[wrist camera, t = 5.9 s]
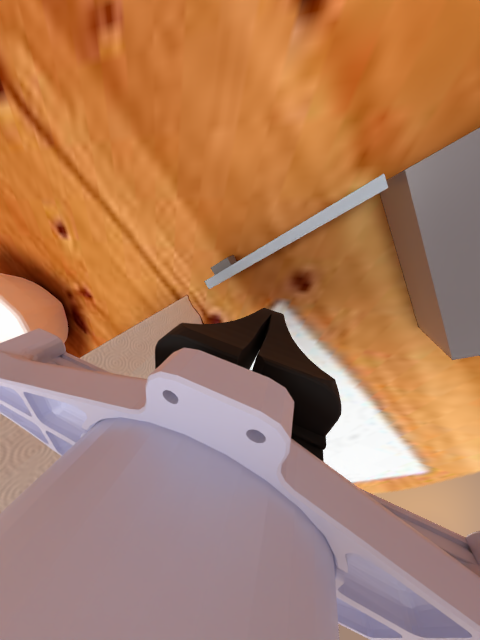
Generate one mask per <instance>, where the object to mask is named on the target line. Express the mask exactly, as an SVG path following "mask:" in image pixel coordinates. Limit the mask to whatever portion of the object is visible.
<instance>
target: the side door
mask: <svg viewBox="0 0 480 640" xmlns="http://www.w3.org/2000/svg"><path fill="white" fill-rule="evenodd" d="M387 188H388V185H387V182H386V178H385V175H384V174H382V175H381V176H379V177H377V178H376V179H374V180H372V181H371V182H369V183H367V184H366V185H364V186H362V187H361V188H359V189H357V190H356V191H354V192H352V193H351V194H349V195H347V196H346V197H344V198H342V199H341V200H339V201H337V202H336V203H334V204H332V205H331V206H329V207H327V208H326V209H324V210H323V211H321V212H319V213H318V214H316V215H314V216H313V217H311V218H309V219H308V220H306V221H304V222H303V223H301V224H299V225H298V226H296V227H294V228H293V229H291V230H289V231H288V232H286V233H284V234H283V235H281V236H279V237H278V238H276V239H274V240H273V241H271V242H269V243H268V244H266V245H264V246H263V247H261V248H259V249H258V250H256V251H254V252H253V253H251V254H249V255H248V256H246V257H244V258H243V259H241V260H239V261H238V262H237V261H236V259H235V257H234V255H232V256H230V257H227V258H226V259H224V260H222V261H221V262H219V263H218V264H216V265H215V266H213V267H211V269H212V271H213V272H214V274H215V275H214V276H213V277H211V278H209V279H208V280H206V281H204V282H205V283H206V285H207V287H208V288H209V289H210V288H212V287H214V286H216V285H217V284H219V283H221V282H223V281H224V280H226V279H228V278H230V277H231V276H233V275H235V274H237V273H239V272H240V271H242V270H244V269H246V268H247V267H249V266H251V265H253V264H254V263H256V262H258V261H260V260H262V259H263V258H265V257H267V256H269V255H270V254H272V253H274V252H276V251H277V250H279V249H281V248H283V247H285V246H286V245H288V244H290V243H292V242H293V241H295V240H297V239H299V238H300V237H302V236H304V235H306V234H307V233H309V232H311V231H313V230H315V229H316V228H318V227H320V226H322V225H323V224H325V223H327V222H329V221H330V220H332V219H334V218H336V217H338V216H339V215H341V214H343V213H345V212H346V211H348V210H350V209H352V208H353V207H355V206H357V205H359V204H361V203H362V202H364V201H366V200H368V199H369V198H371V197H373V196H375V195H376V194H378V193H380V192H382V191H384V190H385V189H387Z"/></svg>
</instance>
